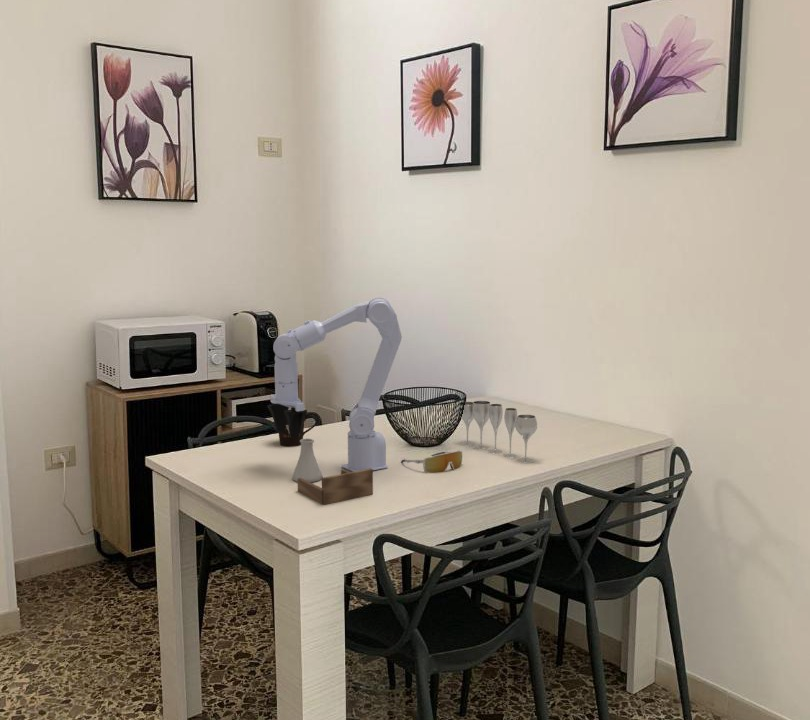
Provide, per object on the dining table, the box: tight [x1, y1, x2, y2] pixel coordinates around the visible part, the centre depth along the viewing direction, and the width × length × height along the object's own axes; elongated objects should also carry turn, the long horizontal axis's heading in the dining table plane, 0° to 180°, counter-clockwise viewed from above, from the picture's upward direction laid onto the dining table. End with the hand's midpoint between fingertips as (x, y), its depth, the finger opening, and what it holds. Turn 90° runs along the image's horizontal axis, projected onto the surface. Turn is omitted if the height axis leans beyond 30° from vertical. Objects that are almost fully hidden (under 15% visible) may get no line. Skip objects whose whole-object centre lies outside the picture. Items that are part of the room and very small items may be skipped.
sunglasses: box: [400, 450, 463, 473], centre depth 217 cm, size 14×15×5 cm
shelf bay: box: [296, 468, 374, 506], centre depth 194 cm, size 13×12×6 cm
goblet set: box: [459, 400, 538, 464], centre depth 229 cm, size 28×6×13 cm, turn 39°
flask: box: [291, 438, 324, 483], centre depth 204 cm, size 7×7×10 cm
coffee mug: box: [277, 407, 320, 448], centre depth 238 cm, size 12×9×10 cm
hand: (287, 434), depth 211 cm, fingers open, 7 cm apart
